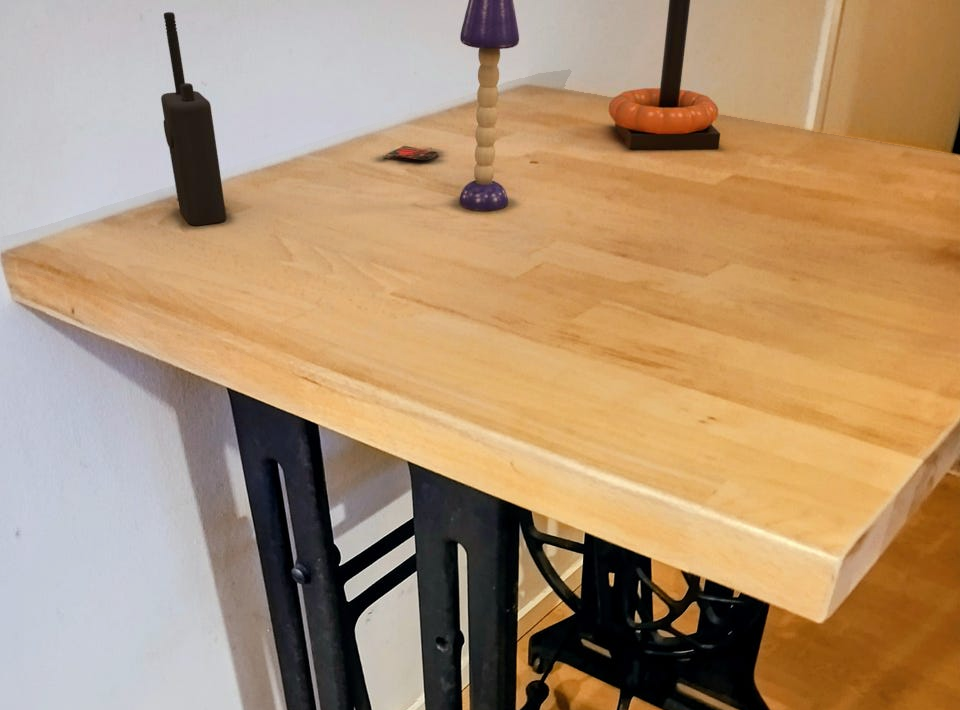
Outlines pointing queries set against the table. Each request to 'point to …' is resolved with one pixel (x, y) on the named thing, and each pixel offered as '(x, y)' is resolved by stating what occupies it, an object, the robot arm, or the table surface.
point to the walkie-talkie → (191, 143)
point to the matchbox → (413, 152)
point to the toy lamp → (487, 94)
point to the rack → (672, 91)
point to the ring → (662, 112)
